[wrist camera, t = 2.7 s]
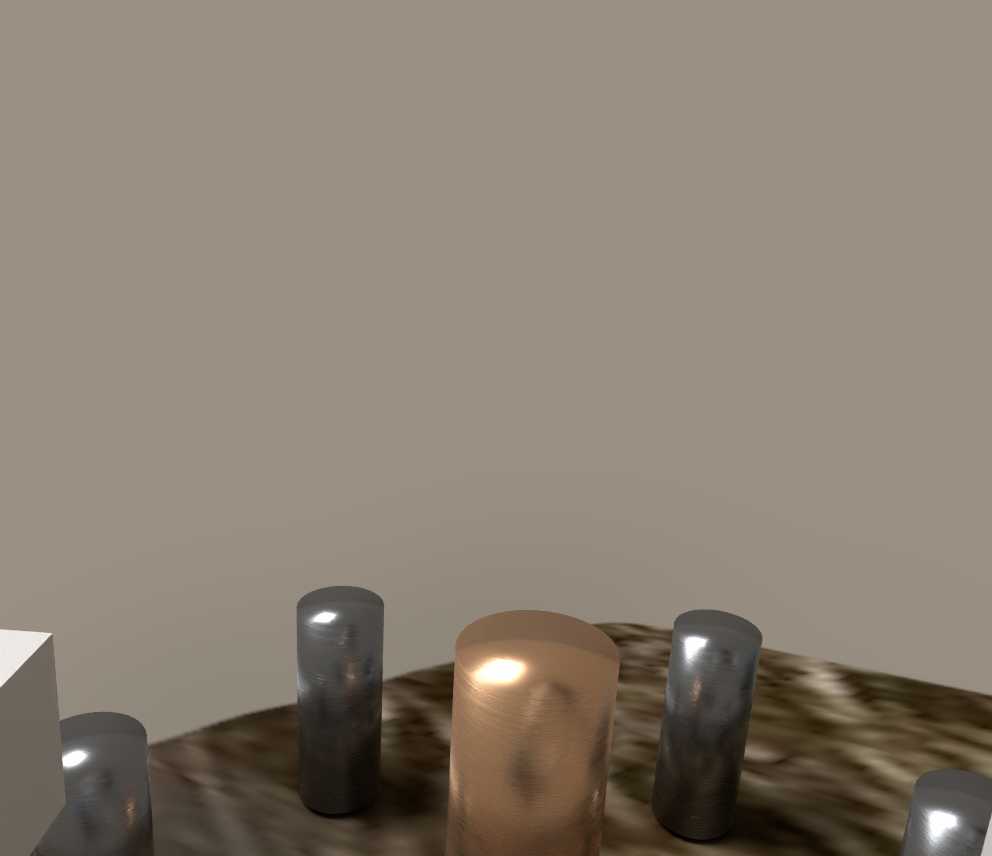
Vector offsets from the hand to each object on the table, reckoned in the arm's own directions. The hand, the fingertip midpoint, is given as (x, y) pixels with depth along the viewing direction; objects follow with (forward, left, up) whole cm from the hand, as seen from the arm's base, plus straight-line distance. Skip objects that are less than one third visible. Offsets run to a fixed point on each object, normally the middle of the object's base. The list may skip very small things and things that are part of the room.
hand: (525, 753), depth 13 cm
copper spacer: (-1, -11, -17) cm, 21 cm away
